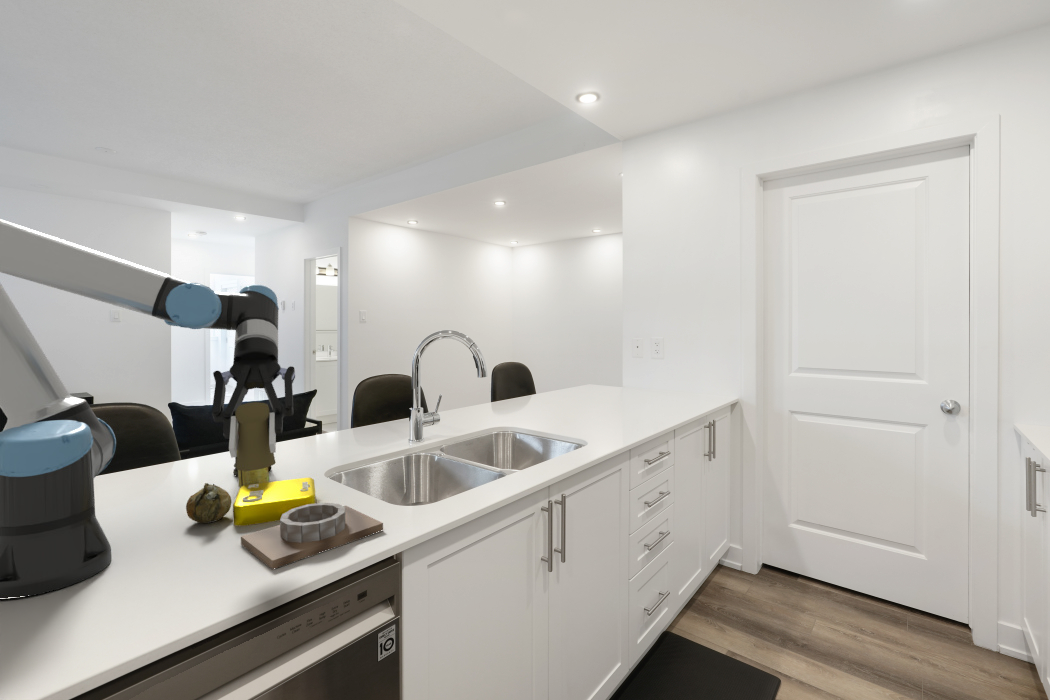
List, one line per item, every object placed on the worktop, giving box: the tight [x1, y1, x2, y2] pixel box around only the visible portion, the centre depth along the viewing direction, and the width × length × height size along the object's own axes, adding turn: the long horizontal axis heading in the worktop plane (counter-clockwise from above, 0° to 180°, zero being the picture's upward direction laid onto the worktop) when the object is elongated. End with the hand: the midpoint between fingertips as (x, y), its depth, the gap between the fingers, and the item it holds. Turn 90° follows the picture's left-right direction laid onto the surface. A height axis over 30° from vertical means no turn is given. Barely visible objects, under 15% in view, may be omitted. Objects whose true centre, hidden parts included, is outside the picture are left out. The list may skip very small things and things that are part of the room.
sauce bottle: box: [237, 435, 270, 489], centre depth 116 cm, size 6×6×20 cm
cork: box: [235, 401, 276, 471], centre depth 86 cm, size 6×6×11 cm
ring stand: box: [240, 502, 384, 570], centre depth 91 cm, size 20×14×4 cm
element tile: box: [232, 477, 317, 527], centre depth 106 cm, size 15×15×5 cm
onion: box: [185, 482, 232, 524], centre depth 100 cm, size 8×8×8 cm
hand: (252, 450), depth 83 cm, fingers closed on cork, 5 cm apart
